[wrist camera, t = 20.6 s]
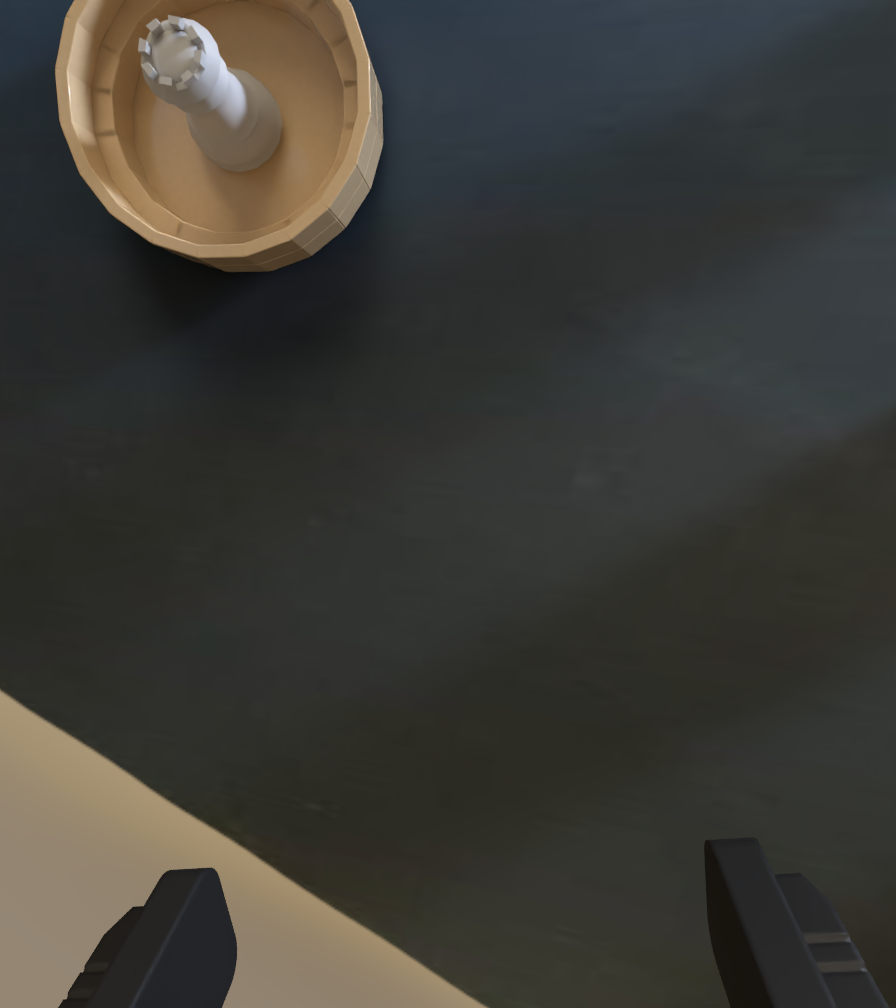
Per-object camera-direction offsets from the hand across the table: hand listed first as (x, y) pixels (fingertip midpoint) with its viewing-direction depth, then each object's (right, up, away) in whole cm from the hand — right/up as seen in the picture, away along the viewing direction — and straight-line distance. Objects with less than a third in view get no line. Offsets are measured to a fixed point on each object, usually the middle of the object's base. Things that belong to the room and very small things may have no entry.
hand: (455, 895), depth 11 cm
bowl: (-10, +25, +24) cm, 37 cm away
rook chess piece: (-10, +25, +24) cm, 36 cm away
